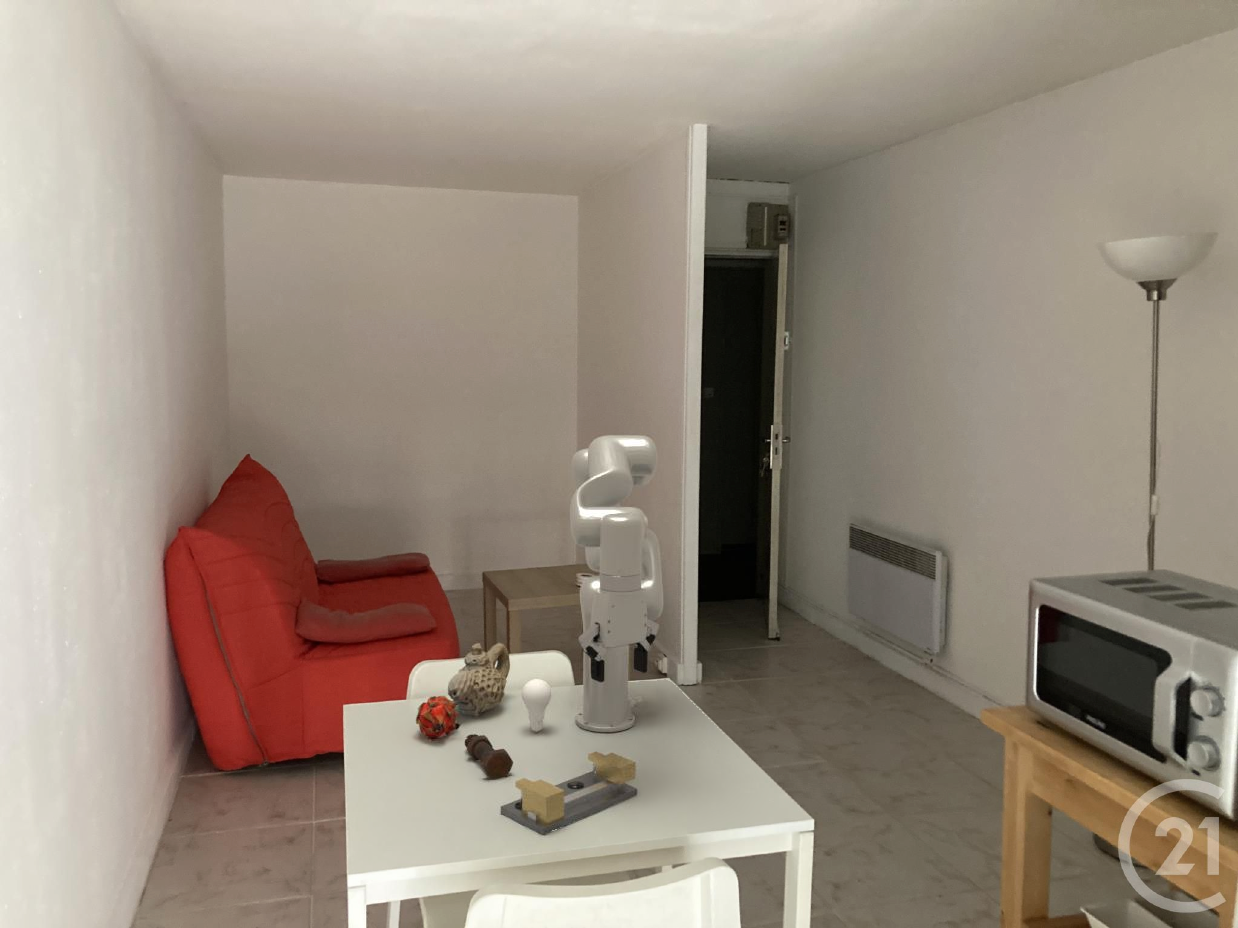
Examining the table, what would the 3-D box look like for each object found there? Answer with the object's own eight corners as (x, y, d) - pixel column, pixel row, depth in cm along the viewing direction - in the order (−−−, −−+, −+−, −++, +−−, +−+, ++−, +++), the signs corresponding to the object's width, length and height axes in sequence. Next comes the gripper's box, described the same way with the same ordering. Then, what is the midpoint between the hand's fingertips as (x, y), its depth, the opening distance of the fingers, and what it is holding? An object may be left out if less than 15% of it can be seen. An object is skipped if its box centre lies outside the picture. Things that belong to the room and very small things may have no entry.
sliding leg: (599, 769, 187) (600, 747, 186) (635, 784, 180) (635, 761, 180) (584, 775, 184) (584, 753, 184) (619, 790, 178) (619, 768, 177)
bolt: (475, 758, 200) (503, 785, 187) (454, 750, 198) (480, 776, 185) (489, 731, 201) (517, 755, 188) (467, 722, 199) (495, 746, 186)
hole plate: (594, 776, 188) (594, 745, 187) (637, 794, 180) (637, 762, 180) (500, 813, 172) (500, 779, 172) (543, 835, 165) (543, 800, 164)
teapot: (474, 731, 210) (473, 660, 208) (427, 721, 215) (427, 652, 213) (526, 700, 229) (527, 634, 228) (483, 692, 234) (483, 628, 232)
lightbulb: (556, 729, 212) (556, 677, 210) (542, 738, 206) (542, 686, 205) (530, 724, 214) (531, 673, 213) (516, 733, 209) (516, 681, 207)
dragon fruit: (440, 730, 214) (442, 760, 203) (407, 710, 212) (406, 740, 200) (465, 699, 213) (467, 728, 202) (431, 679, 211) (432, 707, 199)
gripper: (645, 573, 190) (643, 662, 192) (568, 584, 180) (568, 678, 182) (670, 580, 185) (669, 672, 186) (593, 592, 174) (592, 689, 176)
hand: (619, 675), depth 184 cm, fingers open, 9 cm apart
